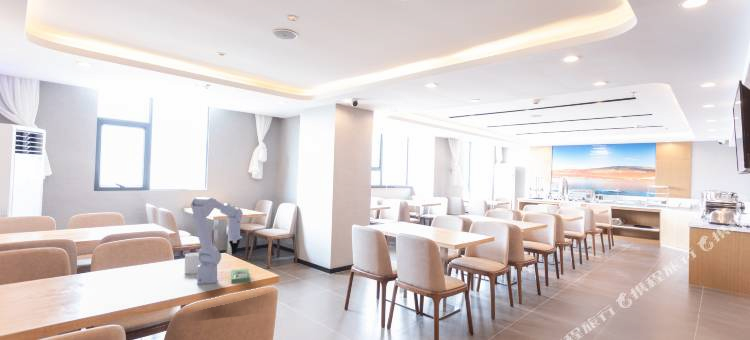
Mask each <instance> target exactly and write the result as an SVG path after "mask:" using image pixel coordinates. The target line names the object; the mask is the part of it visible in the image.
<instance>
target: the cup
mask: <svg viewBox="0 0 750 340" xmlns="http://www.w3.org/2000/svg"><path fill="white" fill-rule="evenodd" d="M198 265H202V264H201V262H200V261H199V253H198V252H189V253H186V254H184V273H185V274H186V275H197V272H198Z"/></svg>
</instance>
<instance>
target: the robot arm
mask: <svg viewBox="0 0 750 340" xmlns="http://www.w3.org/2000/svg"><path fill="white" fill-rule="evenodd" d="M190 207H191V210H192V219H193V223H194V225H195V230H196V233H197V237H198V240H199V244H200V249H199V250H198V252H197V253H199V261H200V262H201V265H198V272H197V274H196V275H197V276H196V280H197V282H196V284H197V285H204V284H205V285H206V284H207V285H208V284H215V283H216V284H218V282H219V277H218V264H220V262H221V260H222V254H221V253H220V251H219V249H218V248H217V247H216V246H215V245H214V243H213V239H212V237H211V236H212V235H211V233H210V228H209V225H208V222H207V221H208V220H207V217H209V216H210V215H211V213H212V212H213V211H214V210H215V209H217V210H219V211H220V213H221V214H223V215H226V216H227V218H228V219H229V222H228V223H229V225H228V226H229V227H228V231H229V232H228V239H229V241H228V243H229V244H230V249H231V253H232V254H233V255H235V254H237V252H238V246H239V244H240V243H241V239H243V236H241V221H242V217H243V210H242V209H241V208H238V207H236V206H234V205H231V203H228V202H227V203H223V202H220V201H219V200H217V199H216V198H214V197H199V196H196V197H194V198H193V200H192V202H191V203H190Z"/></svg>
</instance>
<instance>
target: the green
mask: <svg viewBox="0 0 750 340" xmlns="http://www.w3.org/2000/svg"><path fill="white" fill-rule="evenodd" d="M230 271H231V272H230V273H231V274H230V278H231V279H230V282H231V283H230V284H236V283H237V284H239V283H248V282H247V281H250V282H251V276H250V271H249V268H242V269H239V268H238V269H231V270H230ZM241 273H243V274H245V277H240V278H238V276H239V274H241Z"/></svg>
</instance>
